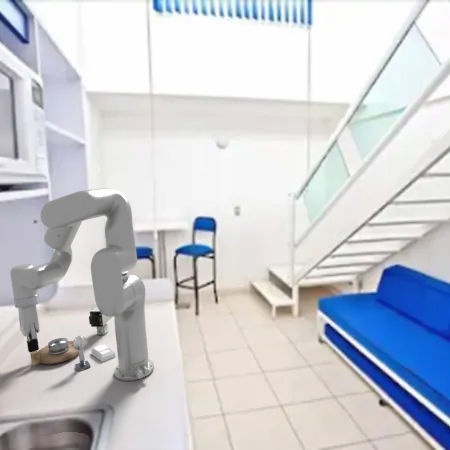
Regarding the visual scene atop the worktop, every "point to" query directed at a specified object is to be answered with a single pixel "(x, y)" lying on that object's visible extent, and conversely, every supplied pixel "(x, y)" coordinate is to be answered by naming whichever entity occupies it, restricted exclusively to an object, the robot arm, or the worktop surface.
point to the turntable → (46, 358)
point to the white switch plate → (103, 352)
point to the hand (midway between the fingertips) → (33, 350)
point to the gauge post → (81, 352)
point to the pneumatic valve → (99, 321)
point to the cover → (58, 346)
